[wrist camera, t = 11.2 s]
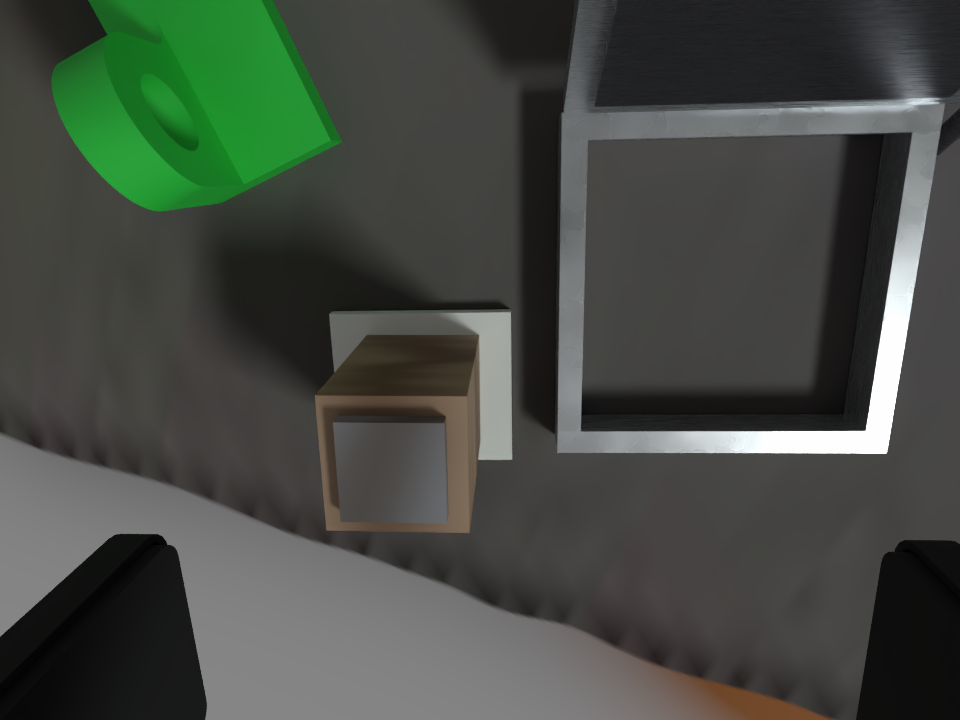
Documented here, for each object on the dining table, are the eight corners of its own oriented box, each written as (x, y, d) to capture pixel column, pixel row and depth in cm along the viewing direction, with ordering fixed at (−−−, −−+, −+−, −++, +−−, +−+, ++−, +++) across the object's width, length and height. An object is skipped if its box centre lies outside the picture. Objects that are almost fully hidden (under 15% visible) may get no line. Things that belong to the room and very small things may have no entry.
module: (479, 334, 29) (465, 402, 21) (480, 439, 31) (468, 542, 22) (366, 334, 29) (309, 401, 21) (373, 439, 31) (321, 539, 23)
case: (971, -55, 25) (1513, -314, 11) (890, 431, 30) (1188, 644, 17) (559, -40, 26) (610, -264, 12) (554, 431, 31) (584, 635, 18)
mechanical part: (343, 141, 28) (279, 133, 20) (222, 202, 29) (118, 216, 21) (194, -162, 25) (54, -305, 17) (66, -83, 26) (-120, -186, 18)
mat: (510, 309, 29) (510, 312, 29) (512, 454, 31) (511, 459, 31) (332, 311, 30) (329, 314, 29) (344, 454, 32) (341, 459, 31)
